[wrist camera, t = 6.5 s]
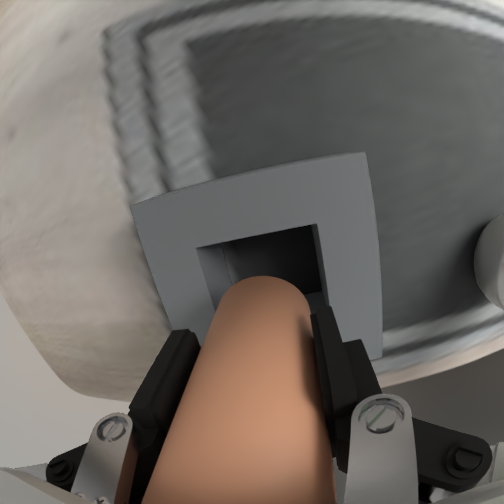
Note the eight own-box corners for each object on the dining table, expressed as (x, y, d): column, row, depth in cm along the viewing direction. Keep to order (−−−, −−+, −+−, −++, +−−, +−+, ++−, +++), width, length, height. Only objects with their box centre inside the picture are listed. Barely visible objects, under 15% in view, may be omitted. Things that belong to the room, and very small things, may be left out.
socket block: (164, 193, 17) (129, 206, 13) (342, 152, 15) (365, 151, 11) (212, 342, 20) (197, 383, 16) (364, 317, 19) (381, 357, 14)
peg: (205, 285, 12) (84, 519, 2) (302, 267, 11) (342, 552, 2) (230, 360, 13) (180, 566, 3) (315, 347, 12) (339, 571, 3)
